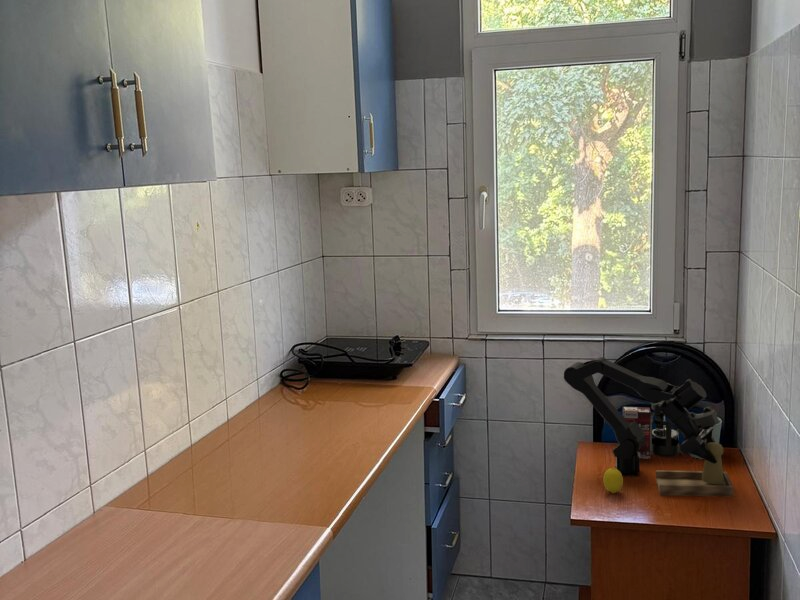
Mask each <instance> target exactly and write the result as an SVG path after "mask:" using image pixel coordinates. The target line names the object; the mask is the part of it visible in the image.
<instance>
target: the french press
mask: <svg viewBox="0 0 800 600" xmlns="http://www.w3.org/2000/svg"><path fill="white" fill-rule="evenodd" d="M666 383H667V384H670V385H672V384H671V383H668V382H666ZM672 399H673V398H671V400H672ZM663 402H664V401H661V402H659V403H658V404H661V403H663ZM649 403H650V404H651V409H652V411H654V412H651V433H650V454H652V455H653V456H656V457H662V458H670V457H671V458H672V457H676V456H678V455H680V453H681V452H680V451H679V446H680V431H679V430H678V429H676V430H674V429H673V427H672V426H674V424H673V423H672V422H671V421H670V420H669V421H667V420H666V416H665V414H664V413H663V412H662V411H661V412H659V413H658V414H657V415H655V405H656V404H657V403H656V404H654V403H651V402H649ZM654 418H655V419H654ZM653 424H655V428H653Z"/></svg>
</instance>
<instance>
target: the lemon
mask: <svg viewBox="0 0 800 600" xmlns="http://www.w3.org/2000/svg"><path fill="white" fill-rule="evenodd" d="M623 477H624V476H622V474H621V472H620V471H619V470H617V469H616V468H615V467H611V468H608V469H606V470H605V472H604V474H603V479H602V480H603V486H604V488H605V489H606V490H607V491H608V492H610V493H612V494H615V493H617V492H619V491H621V489H622V488H623V484H624V479H623Z"/></svg>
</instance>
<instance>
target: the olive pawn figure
mask: <svg viewBox="0 0 800 600" xmlns="http://www.w3.org/2000/svg"><path fill="white" fill-rule="evenodd" d="M706 445H707V447H708V449H709V450H710V451H711V453H712V454H713V455H714V457H715V458H716V460H717V463H715V464H714V463H712V462H709V461H707V460H704V462H703V463H704V464H703V469H702V471H703V473H702V480H703V481H704V482H706V483H709V484H721V483H723V482H724V478H723V472H724V470H723V469H724V468H723V461H722V455H724V447H723V445H722V444H721V443H719V444H718V443H714V442H710V443H707V444H706Z"/></svg>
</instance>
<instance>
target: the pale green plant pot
mask: <svg viewBox="0 0 800 600" xmlns="http://www.w3.org/2000/svg"><path fill="white" fill-rule="evenodd" d="M695 414H696V415H699V414H700V413H695ZM717 418H718V420H719V421H717V424H716V425H714V426H713V427H710V428H709V430H712V429H713V428H714V432H713V438H714V440H715V442H716V443H718V444H720V436H721V429H722V423H723V420H722V419H721V418H720V417H718V416H717ZM689 456H691V457H692V458H694V457H695V458H694V459H696V458H699V459H698V460H702V459H703V458H701V457H698V456H696V455H693V454H691V453H690V454H689Z"/></svg>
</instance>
